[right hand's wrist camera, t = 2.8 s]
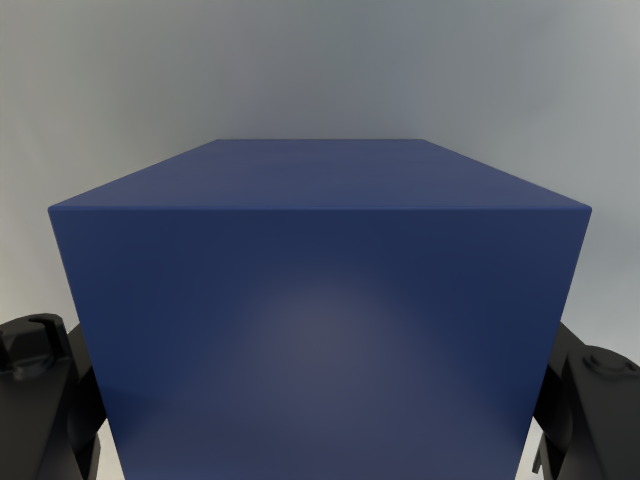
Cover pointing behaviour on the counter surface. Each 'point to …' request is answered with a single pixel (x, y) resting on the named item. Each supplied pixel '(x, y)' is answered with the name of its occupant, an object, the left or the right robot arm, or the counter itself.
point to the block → (319, 309)
